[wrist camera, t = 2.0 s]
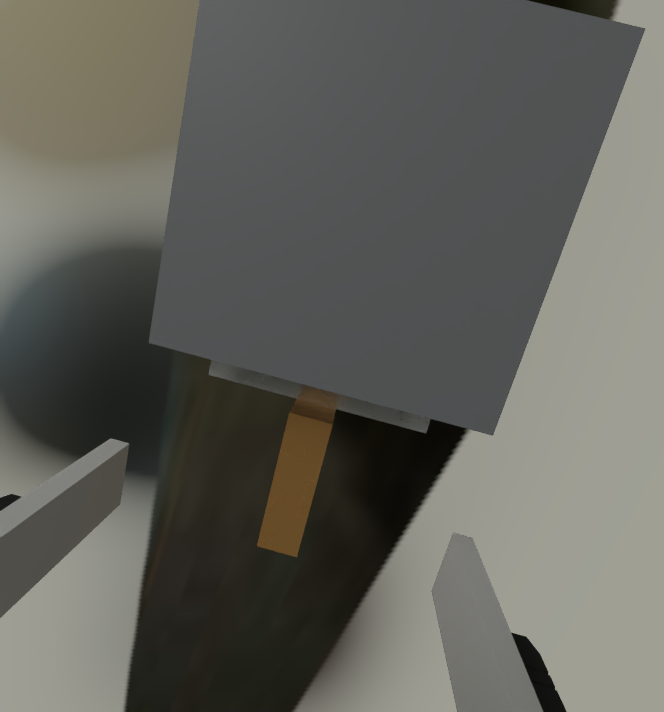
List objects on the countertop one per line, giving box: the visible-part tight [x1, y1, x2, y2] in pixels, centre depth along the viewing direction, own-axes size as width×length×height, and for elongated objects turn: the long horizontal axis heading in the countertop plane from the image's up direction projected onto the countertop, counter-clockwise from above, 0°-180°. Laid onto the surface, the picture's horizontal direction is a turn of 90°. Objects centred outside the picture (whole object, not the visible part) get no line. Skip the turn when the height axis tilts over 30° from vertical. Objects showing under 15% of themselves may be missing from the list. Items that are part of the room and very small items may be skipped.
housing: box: [149, 0, 645, 435], centre depth 21 cm, size 14×14×14 cm
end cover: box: [209, 360, 431, 557], centre depth 20 cm, size 19×10×10 cm, turn 166°
